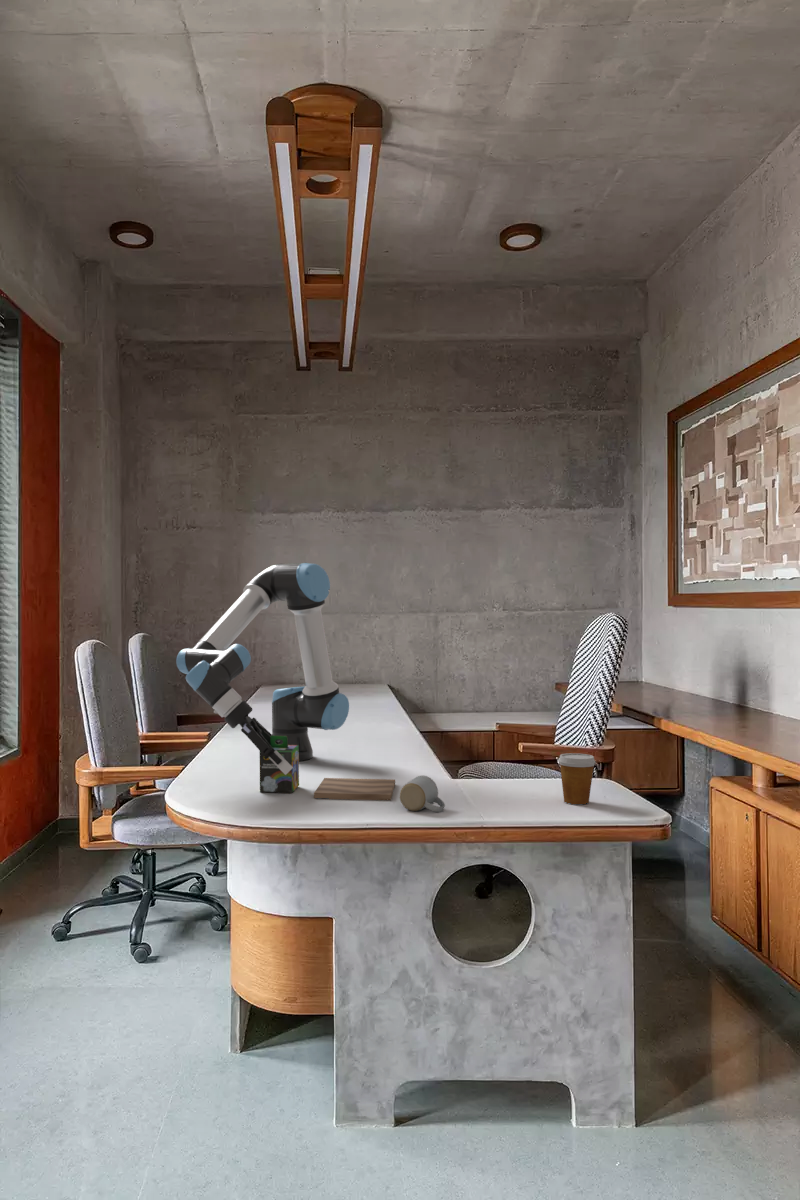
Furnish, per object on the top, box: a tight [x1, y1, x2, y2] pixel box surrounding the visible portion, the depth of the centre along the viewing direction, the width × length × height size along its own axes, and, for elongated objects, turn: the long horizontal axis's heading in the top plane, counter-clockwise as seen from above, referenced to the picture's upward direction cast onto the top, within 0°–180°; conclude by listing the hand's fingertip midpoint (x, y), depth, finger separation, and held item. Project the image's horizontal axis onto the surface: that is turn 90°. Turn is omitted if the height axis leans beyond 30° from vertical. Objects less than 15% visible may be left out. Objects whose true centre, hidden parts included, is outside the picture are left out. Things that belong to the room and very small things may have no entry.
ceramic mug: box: [399, 775, 446, 813], centre depth 221 cm, size 11×8×8 cm
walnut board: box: [313, 777, 396, 801], centre depth 241 cm, size 20×20×2 cm
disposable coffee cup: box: [557, 752, 596, 805], centre depth 231 cm, size 10×10×12 cm
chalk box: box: [259, 736, 300, 794], centre depth 242 cm, size 9×9×15 cm
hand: (291, 767), depth 242 cm, fingers closed on chalk box, 10 cm apart
